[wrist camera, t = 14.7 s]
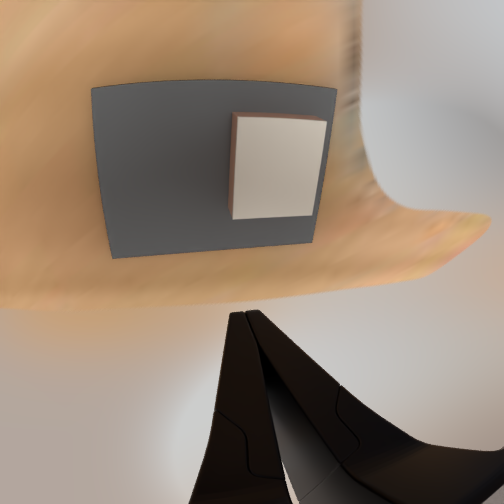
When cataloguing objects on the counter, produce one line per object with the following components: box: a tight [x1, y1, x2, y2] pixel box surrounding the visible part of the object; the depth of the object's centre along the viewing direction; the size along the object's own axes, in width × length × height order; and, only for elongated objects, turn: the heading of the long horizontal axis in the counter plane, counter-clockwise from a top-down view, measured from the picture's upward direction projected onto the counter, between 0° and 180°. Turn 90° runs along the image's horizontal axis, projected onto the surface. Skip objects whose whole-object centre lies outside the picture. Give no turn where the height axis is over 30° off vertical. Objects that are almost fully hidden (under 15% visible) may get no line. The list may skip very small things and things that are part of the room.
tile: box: [228, 112, 327, 220], centre depth 18 cm, size 2×6×5 cm
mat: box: [91, 80, 337, 259], centre depth 19 cm, size 14×11×1 cm
